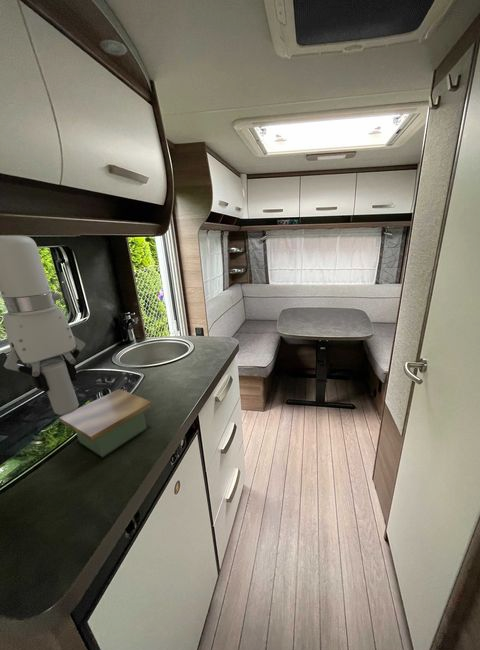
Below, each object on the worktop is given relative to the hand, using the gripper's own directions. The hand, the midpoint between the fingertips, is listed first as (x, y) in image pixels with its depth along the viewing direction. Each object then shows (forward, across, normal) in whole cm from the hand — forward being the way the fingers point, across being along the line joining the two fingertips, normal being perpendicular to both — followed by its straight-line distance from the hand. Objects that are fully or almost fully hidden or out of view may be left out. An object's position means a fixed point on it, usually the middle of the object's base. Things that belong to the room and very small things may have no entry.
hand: (58, 383), depth 61 cm
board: (+17, -11, -7) cm, 22 cm away
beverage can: (+7, 0, 0) cm, 7 cm away
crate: (+25, -11, -7) cm, 29 cm away
